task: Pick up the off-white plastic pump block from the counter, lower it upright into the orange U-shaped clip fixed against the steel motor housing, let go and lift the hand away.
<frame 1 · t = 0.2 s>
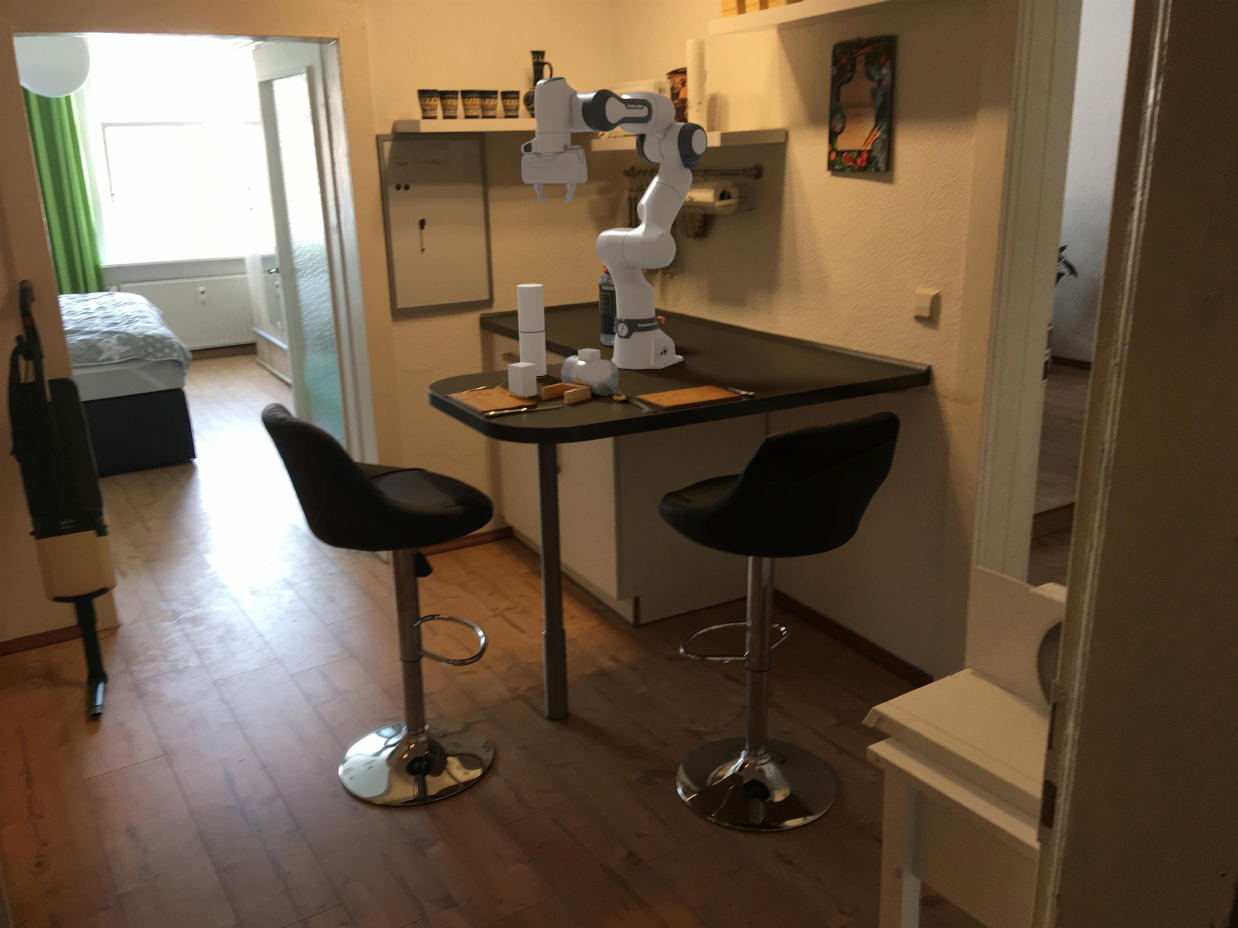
hand: (555, 202, 256), 47 cm above the worktop, tool pointing down, fingers open, 8 cm apart
cylindrical container: (533, 375, 281), on the worktop
pump block: (523, 395, 258), on the worktop
motor mount: (575, 396, 255), on the worktop
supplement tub: (624, 344, 327), on the worktop
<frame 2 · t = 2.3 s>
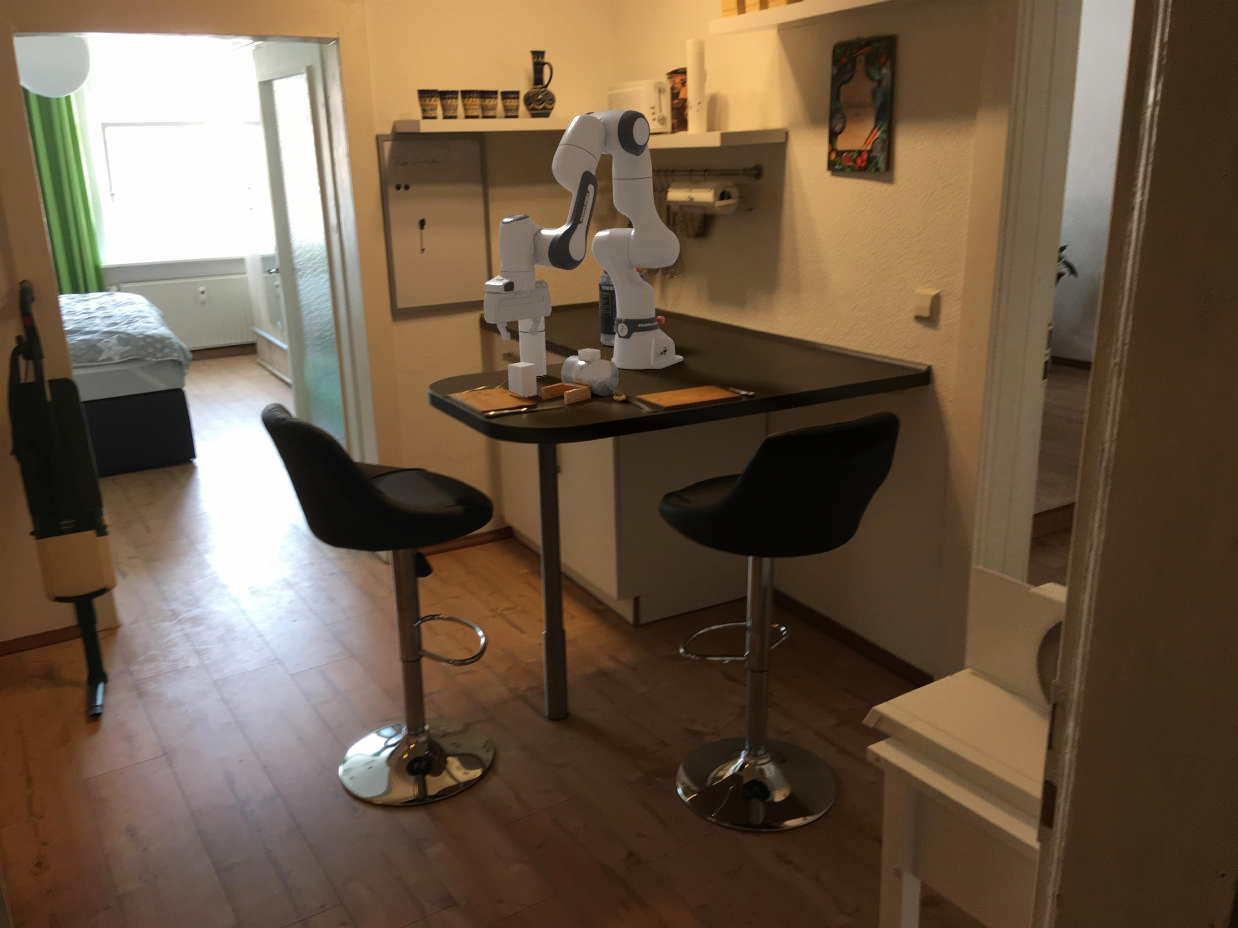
hand: (519, 337, 253), 15 cm above the worktop, tool pointing down, fingers open, 8 cm apart
nothing on the worktop moved.
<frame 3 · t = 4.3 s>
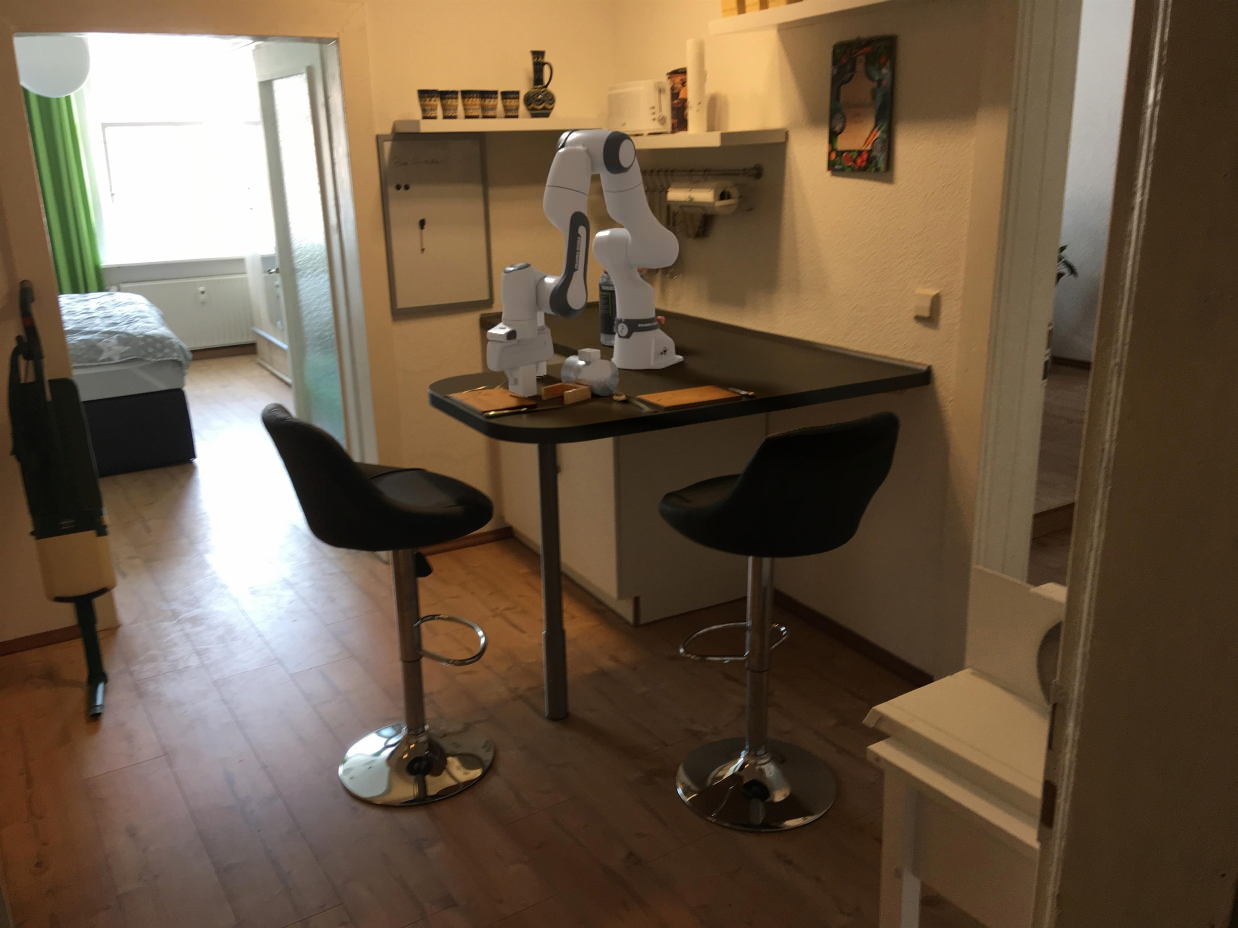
hand: (522, 383, 257), 3 cm above the worktop, tool pointing down, fingers closed on pump block, 5 cm apart
pump block: (523, 394, 258), on the worktop, touching gripper
everything else where it was.
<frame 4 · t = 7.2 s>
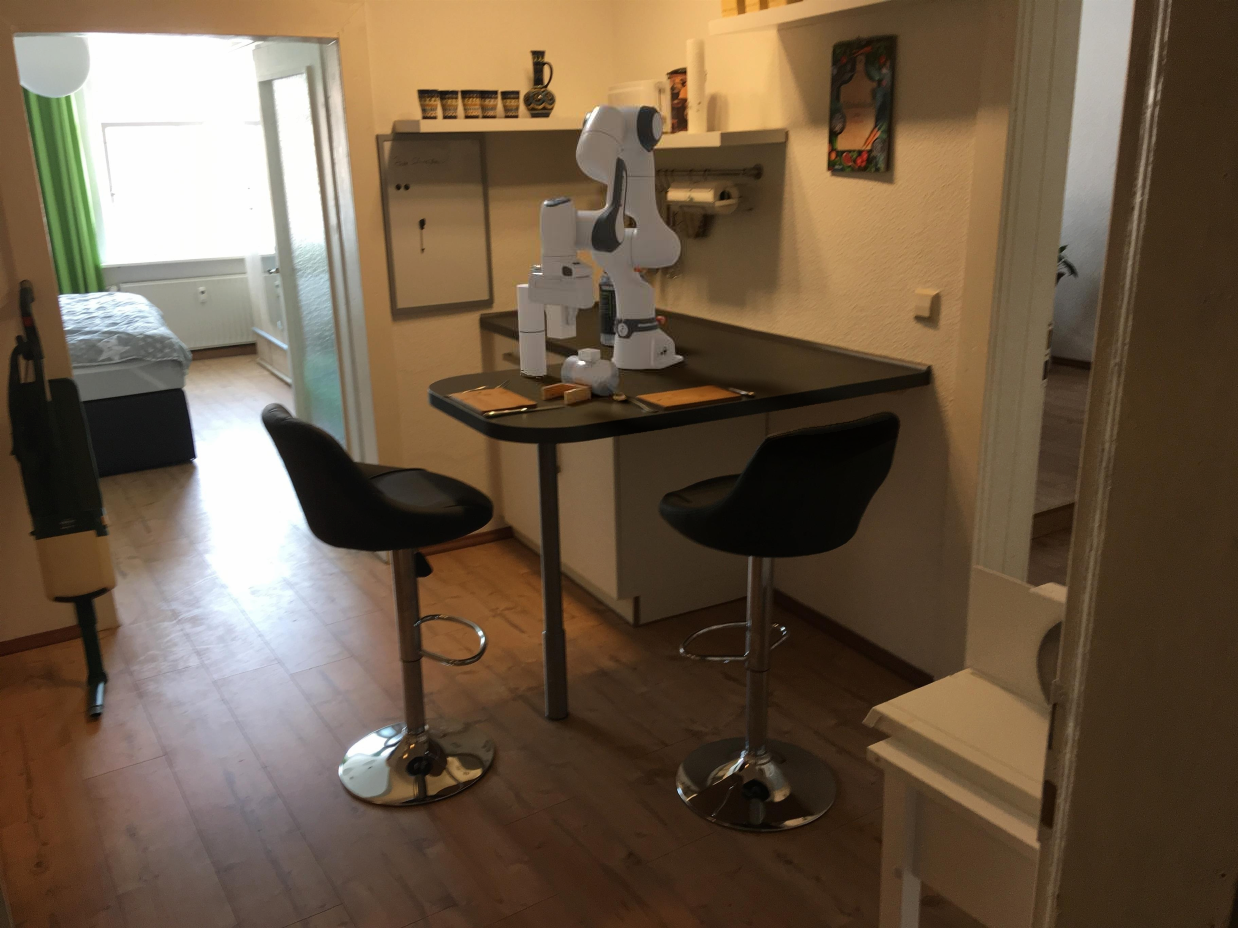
hand: (561, 323, 247), 19 cm above the worktop, tool pointing down, fingers closed on pump block, 5 cm apart
pump block: (561, 336, 248), point 16 cm above the worktop, touching gripper
everything else where it was.
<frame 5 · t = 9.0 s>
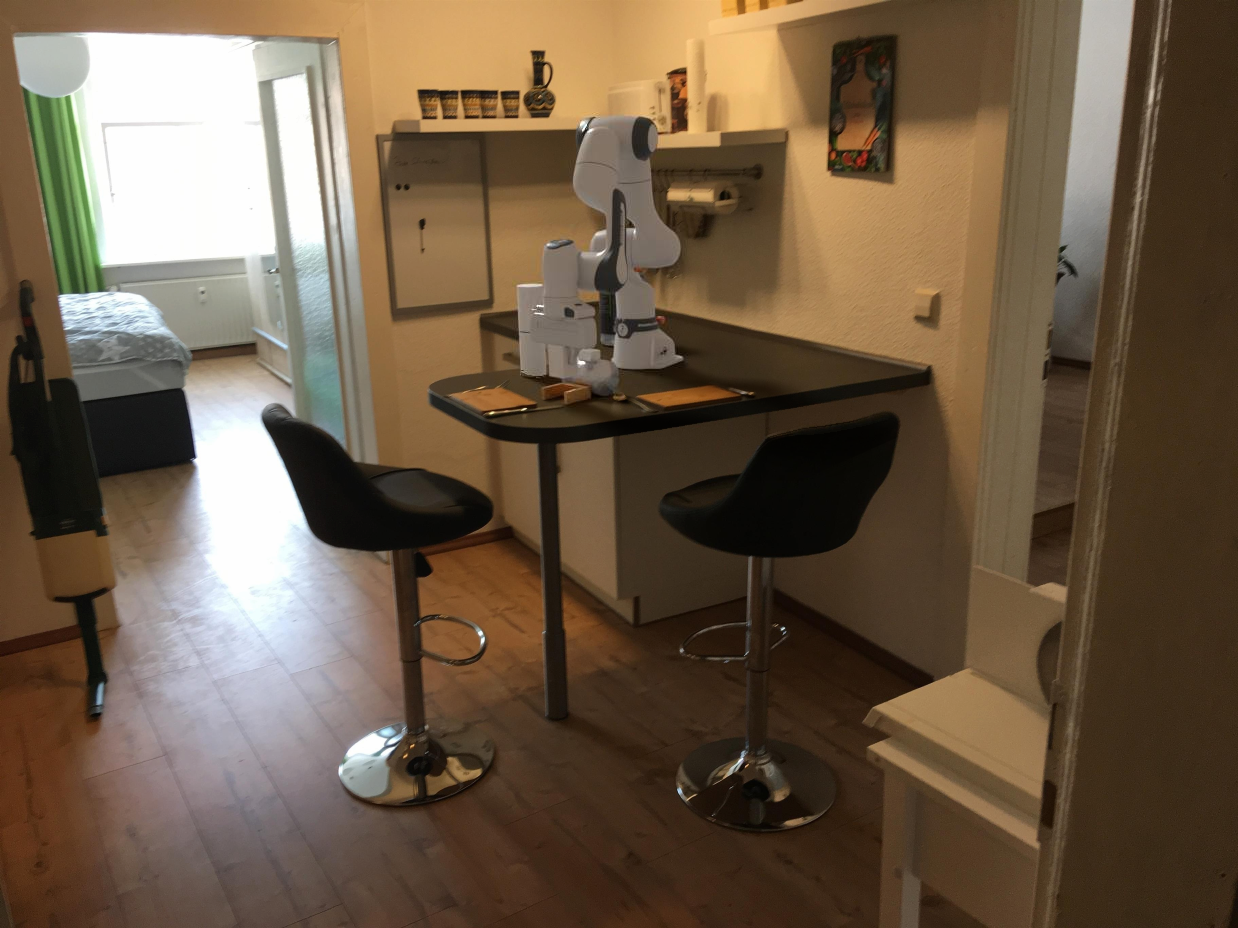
hand: (563, 363, 249), 9 cm above the worktop, tool pointing down, fingers closed on pump block, 5 cm apart
pump block: (563, 375, 250), point 6 cm above the worktop, touching gripper
everything else where it was.
when the fingers open (5 cm above the worktop, at t = 10.4 s): pump block drops 1 cm, on the worktop.
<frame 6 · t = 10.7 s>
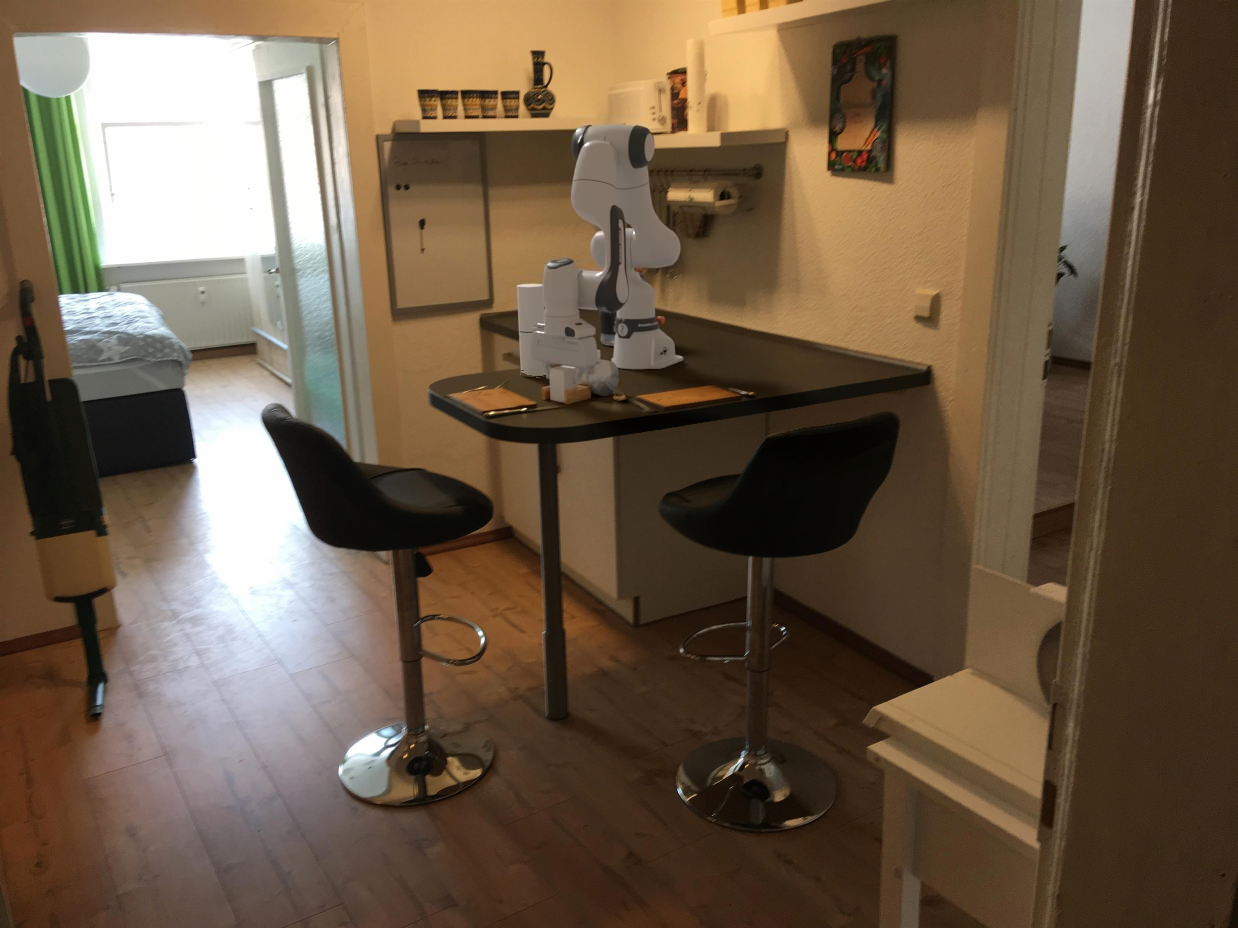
hand: (563, 381, 251), 5 cm above the worktop, tool pointing down, fingers open, 8 cm apart
pump block: (564, 399, 252), on the worktop
everything else where it was.
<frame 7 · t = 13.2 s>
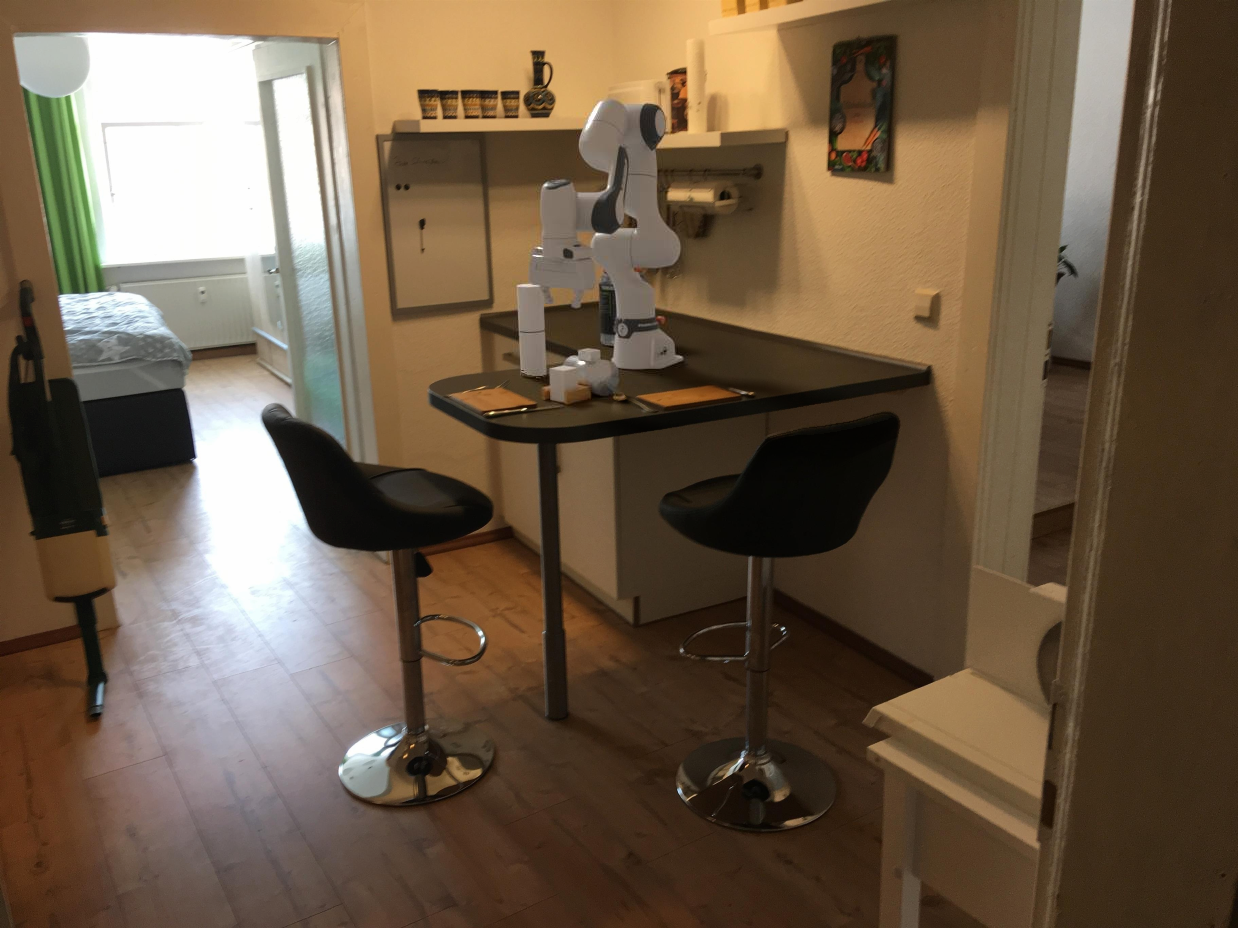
hand: (562, 305, 249), 23 cm above the worktop, tool pointing down, fingers open, 8 cm apart
nothing on the worktop moved.
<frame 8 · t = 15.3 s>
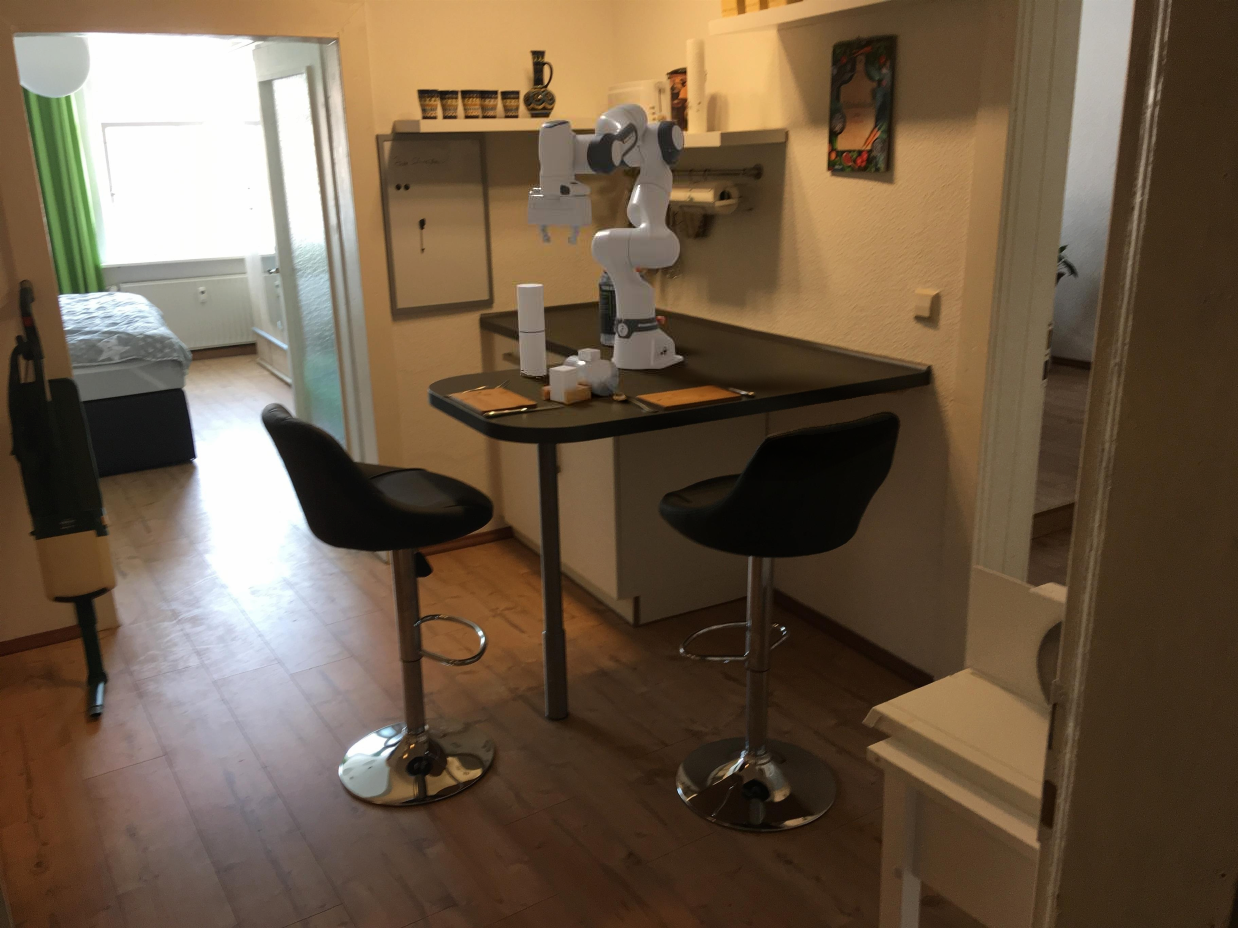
hand: (559, 243, 257), 37 cm above the worktop, tool pointing down, fingers open, 8 cm apart
nothing on the worktop moved.
at the end: pump block 0.4 cm from the target spot on the motor mount, point 0.0 cm above the motor mount's base; pump block tilted 0°; the gripper is holding nothing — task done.
